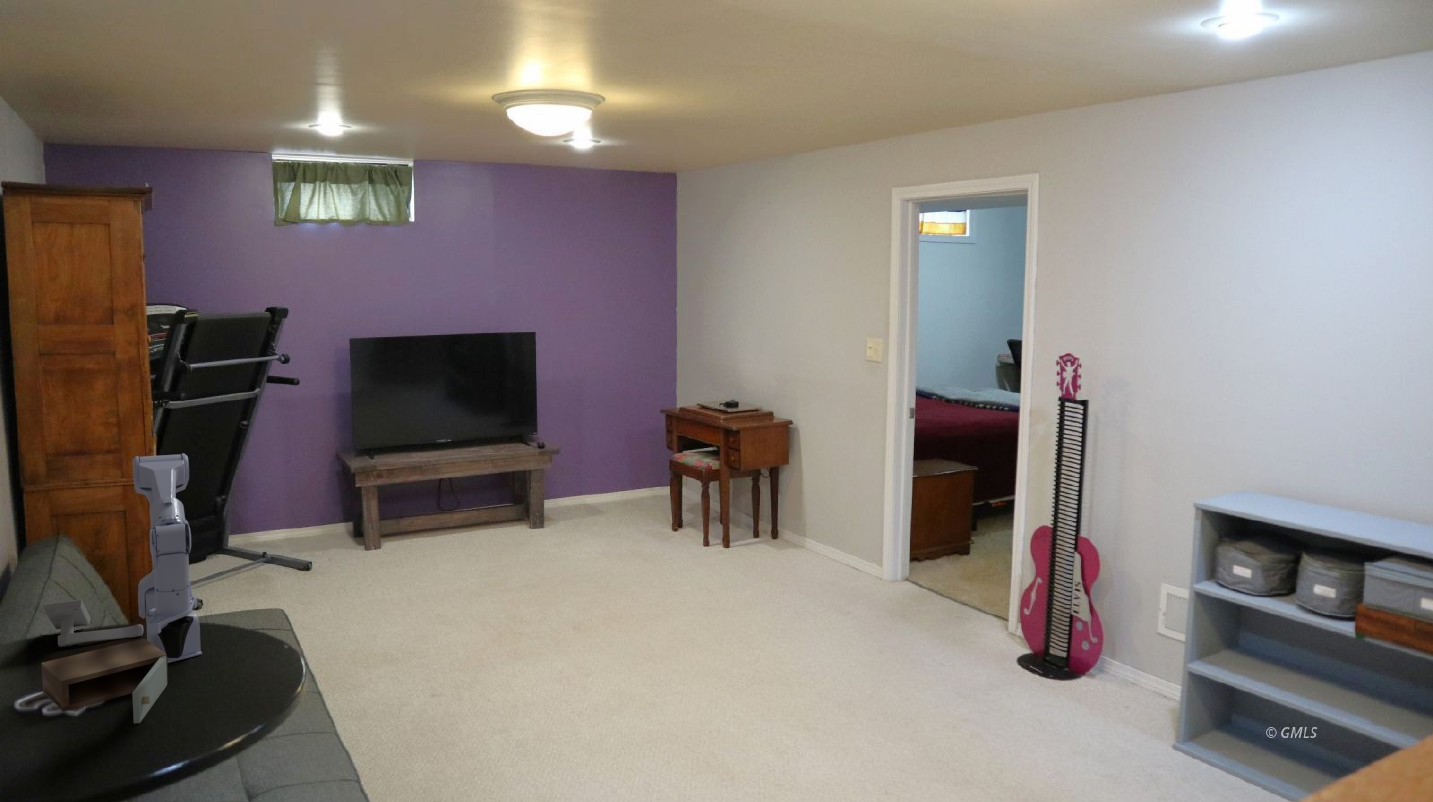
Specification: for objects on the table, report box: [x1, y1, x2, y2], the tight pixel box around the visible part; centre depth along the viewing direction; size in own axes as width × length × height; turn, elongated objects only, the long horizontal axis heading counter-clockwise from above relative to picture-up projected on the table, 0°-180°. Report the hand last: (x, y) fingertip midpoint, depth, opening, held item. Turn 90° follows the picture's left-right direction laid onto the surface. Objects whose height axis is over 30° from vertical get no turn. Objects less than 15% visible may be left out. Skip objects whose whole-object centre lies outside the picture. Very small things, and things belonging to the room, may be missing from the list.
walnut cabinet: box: [41, 638, 169, 713], centre depth 188 cm, size 18×12×6 cm, turn 140°
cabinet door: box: [131, 656, 168, 724], centre depth 182 cm, size 17×2×6 cm, turn 15°
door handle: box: [42, 598, 145, 648], centre depth 213 cm, size 18×8×20 cm
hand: (174, 656), depth 181 cm, fingers closed
